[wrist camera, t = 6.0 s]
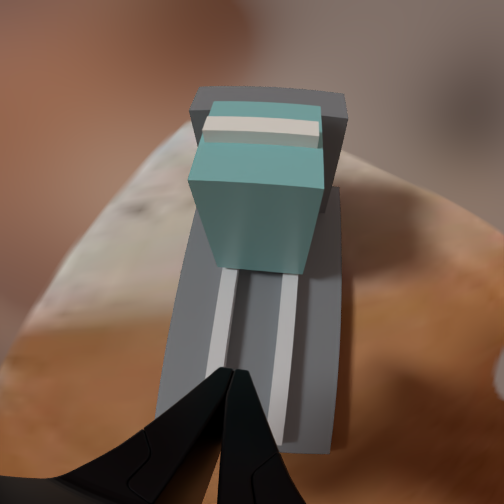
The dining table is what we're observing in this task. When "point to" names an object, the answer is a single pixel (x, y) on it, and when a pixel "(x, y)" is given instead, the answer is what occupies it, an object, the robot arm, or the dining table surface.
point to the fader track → (266, 303)
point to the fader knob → (259, 183)
